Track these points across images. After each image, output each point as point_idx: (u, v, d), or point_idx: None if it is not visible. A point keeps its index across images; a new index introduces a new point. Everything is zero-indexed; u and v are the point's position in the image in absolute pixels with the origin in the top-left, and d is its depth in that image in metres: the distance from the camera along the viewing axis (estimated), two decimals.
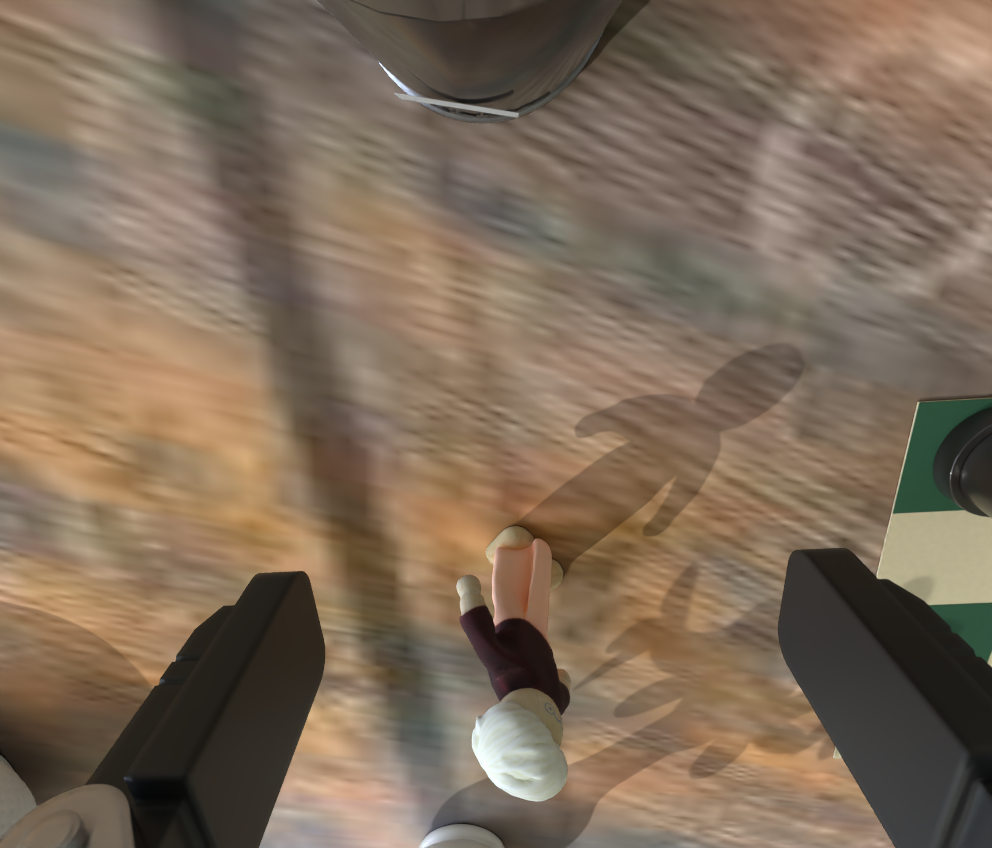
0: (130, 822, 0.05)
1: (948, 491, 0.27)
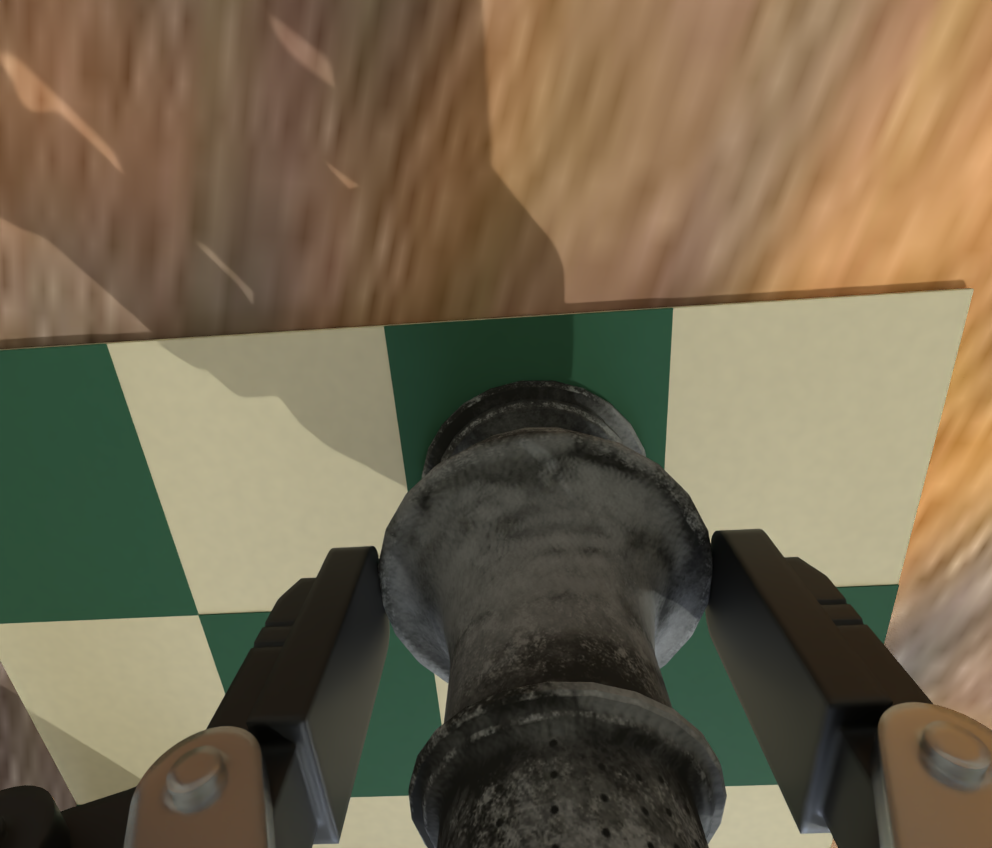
0: (261, 768, 0.06)
1: None
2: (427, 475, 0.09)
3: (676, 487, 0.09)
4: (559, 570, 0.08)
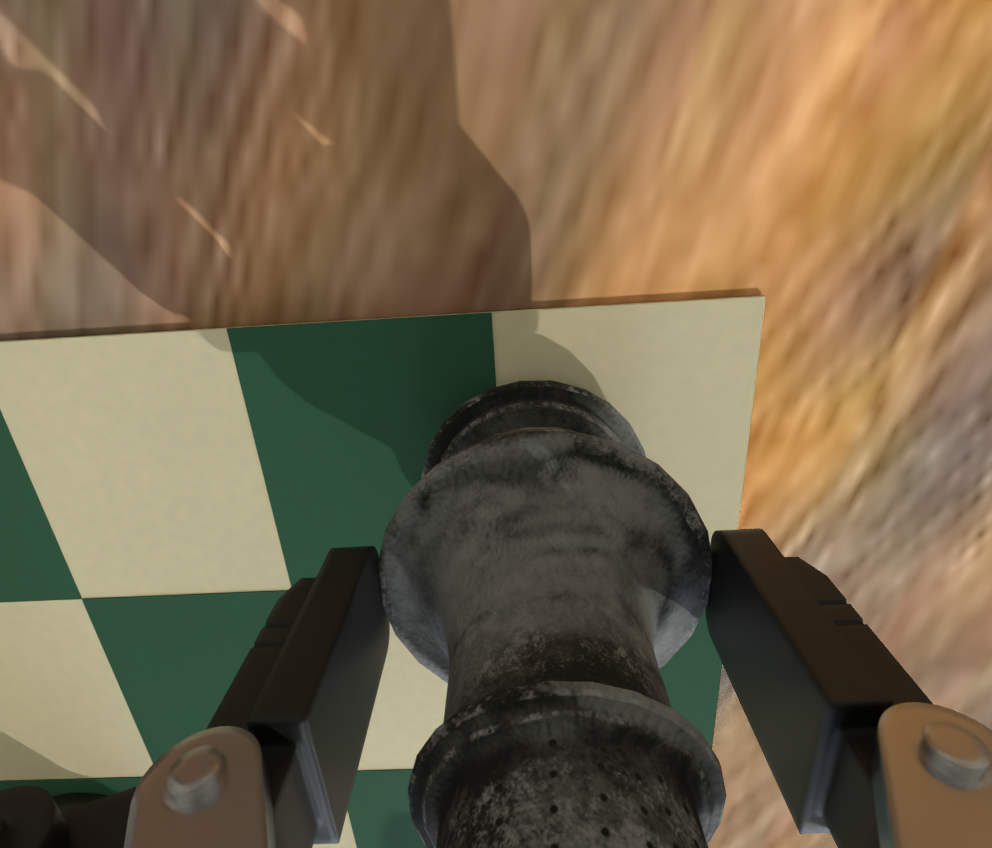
0: (261, 769, 0.06)
1: None
2: (426, 475, 0.09)
3: (675, 487, 0.09)
4: (558, 569, 0.08)
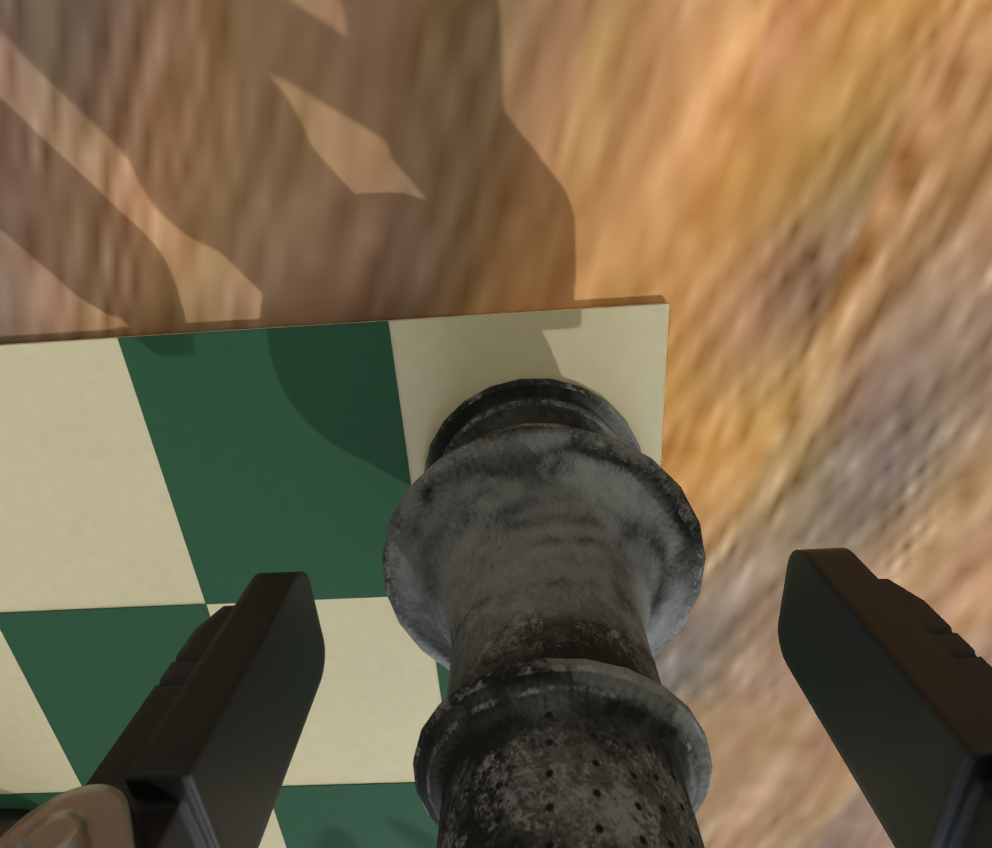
0: (130, 822, 0.05)
1: None
2: (430, 468, 0.10)
3: (668, 480, 0.09)
4: (556, 557, 0.08)
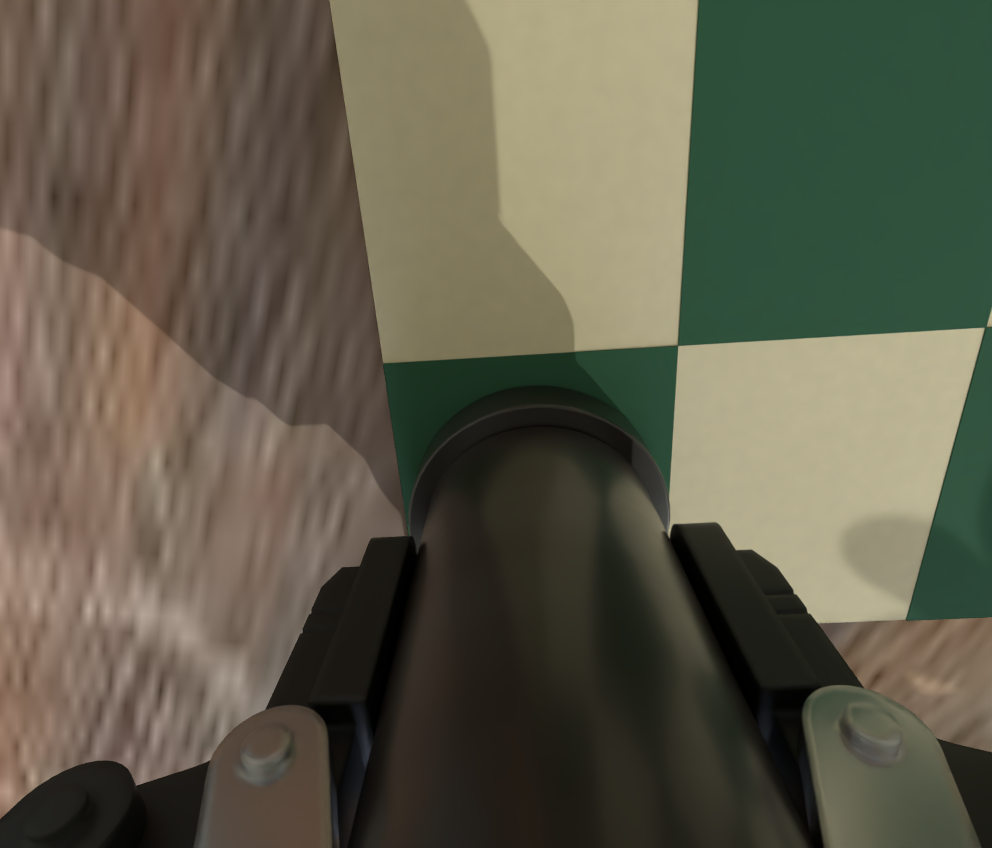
0: (328, 751, 0.06)
1: None
2: None
3: None
4: None
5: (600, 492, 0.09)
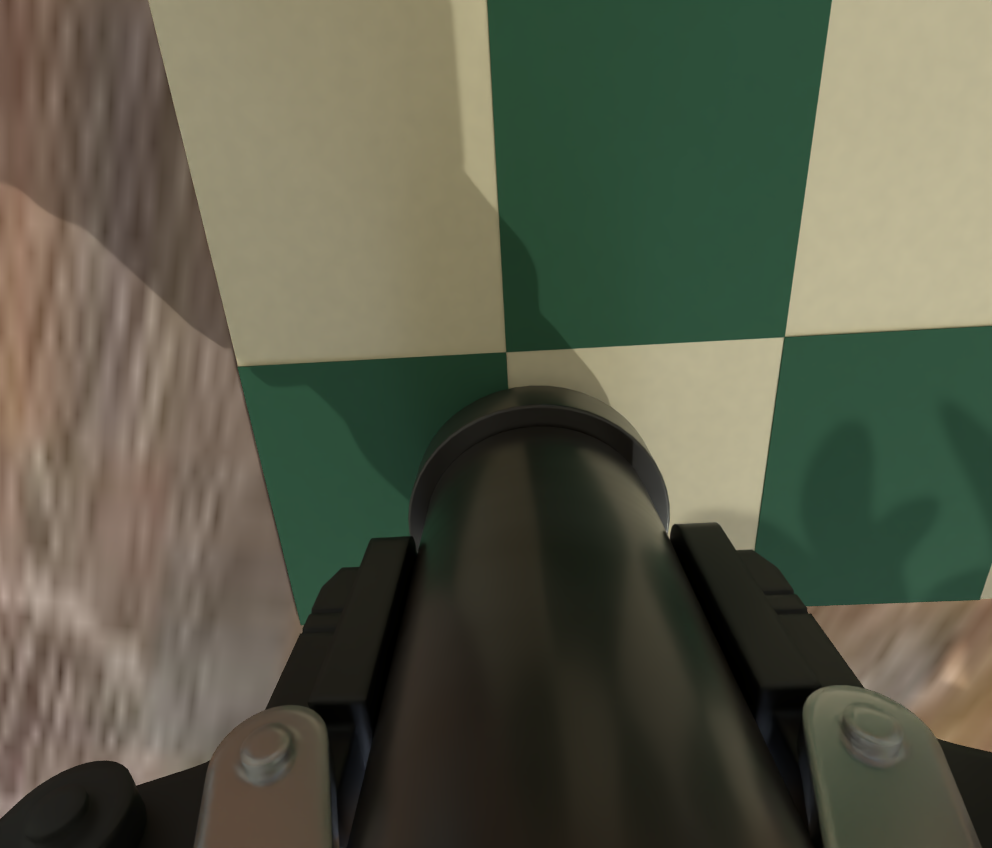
0: (328, 750, 0.06)
1: None
2: None
3: None
4: None
5: (600, 491, 0.09)
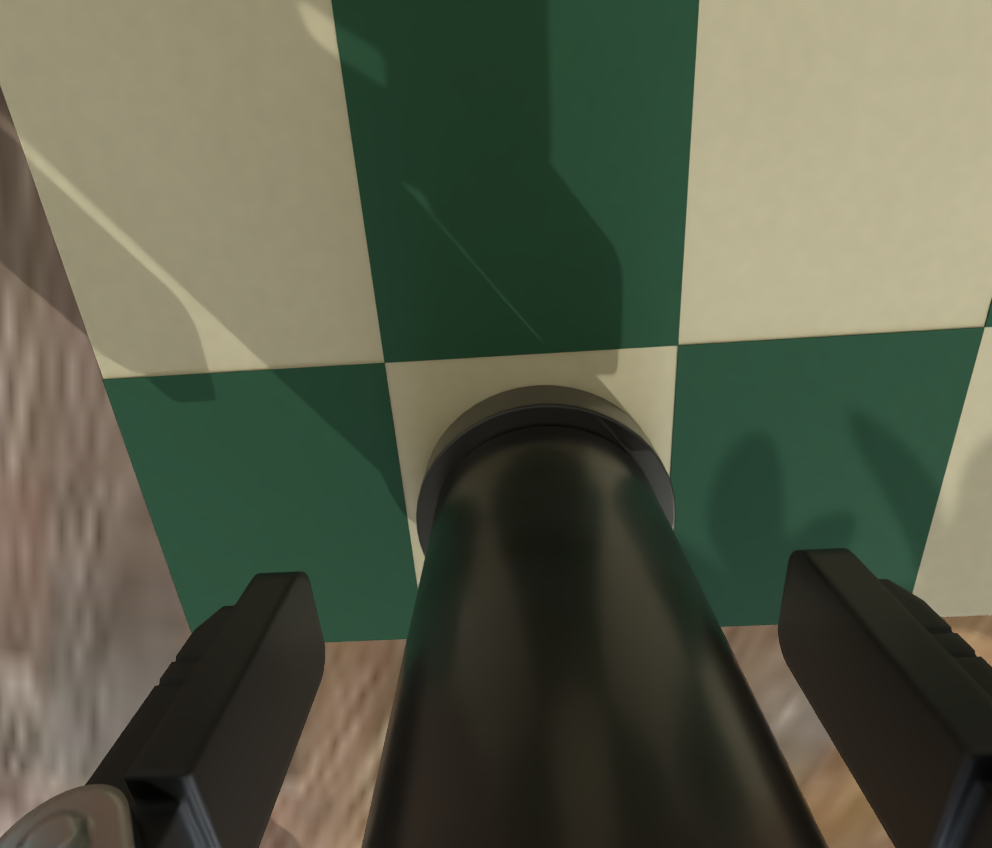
0: (129, 822, 0.05)
1: None
2: None
3: None
4: None
5: (610, 490, 0.09)
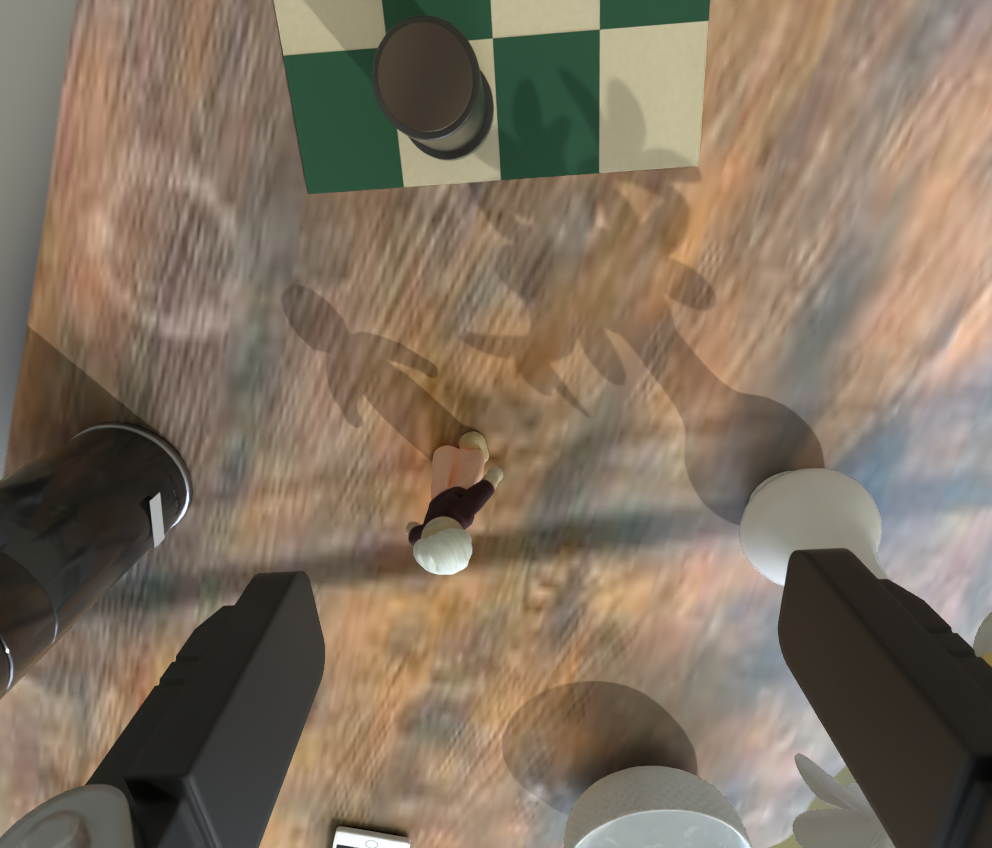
0: (130, 822, 0.05)
1: (471, 152, 0.33)
2: None
3: None
4: None
5: None
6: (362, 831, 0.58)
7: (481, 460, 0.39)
